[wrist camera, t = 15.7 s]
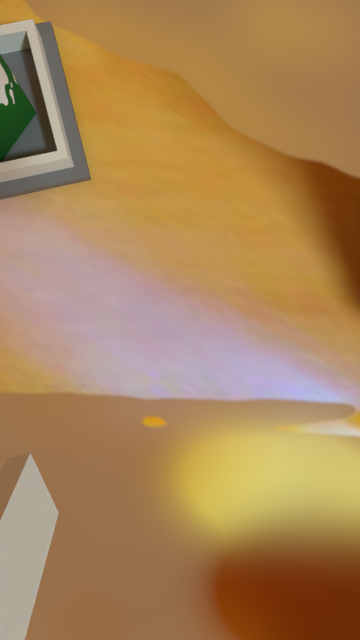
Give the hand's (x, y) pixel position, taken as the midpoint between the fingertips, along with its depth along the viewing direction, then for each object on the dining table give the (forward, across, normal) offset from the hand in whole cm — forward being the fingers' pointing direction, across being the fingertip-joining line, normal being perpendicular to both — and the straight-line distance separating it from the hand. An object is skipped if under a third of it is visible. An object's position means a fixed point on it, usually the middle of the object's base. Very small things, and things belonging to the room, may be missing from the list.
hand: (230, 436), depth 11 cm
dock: (+38, -15, +21) cm, 46 cm away
